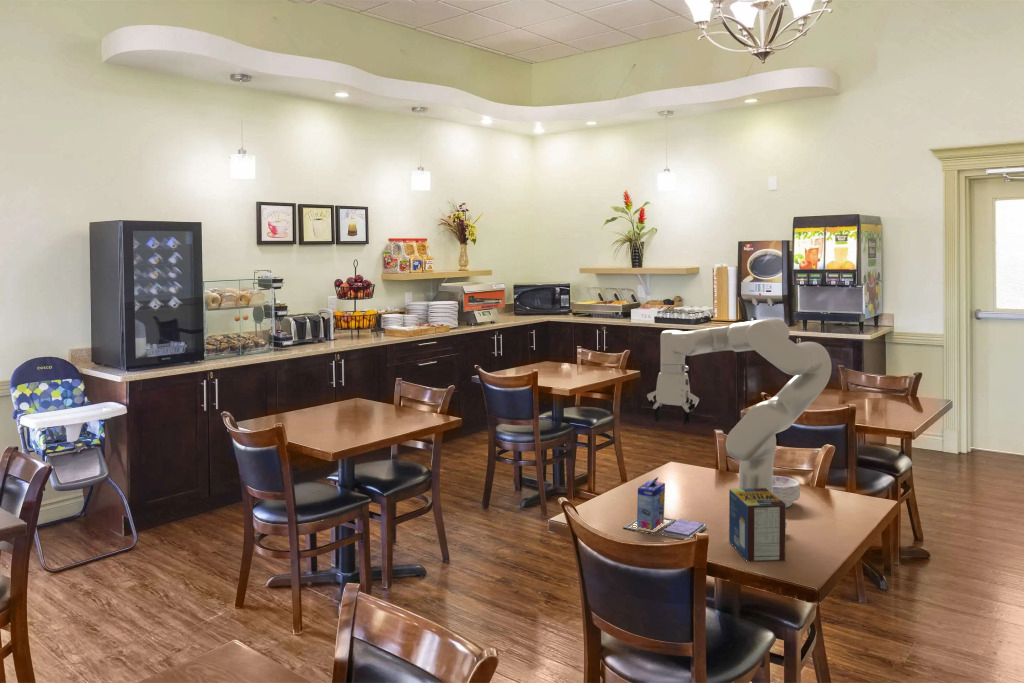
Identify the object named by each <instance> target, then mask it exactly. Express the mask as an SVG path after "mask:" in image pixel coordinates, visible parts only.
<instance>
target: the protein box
mask: <svg viewBox="0 0 1024 683" xmlns="http://www.w3.org/2000/svg"><path fill="white" fill-rule="evenodd" d="M728 493H729V494H728V495H729V497H728V498H729V509H728V510H729V511H728V512H729V514H728V515H729V516H728V520H729V522H728V523H729V524H728V526H729V527H728V528H729V529H728V531H729V532H728V534H729V535H728V542H729V541H730V542H731V543H732V544H733V545H732V544H731V543H730V542H729V543H730V544H731V545H732V546H733V547H734V546H735V547H736V549H737V550H738V551H739V552H740V553H741V554H742V555H741V554H740V553H739V552H738V551H737V550H736V549H735V550H736V551H737V552H738V553H739V554H740V555H741V557H742V556H743V557H744V558H745V559H746V560H747V561H757V562H776V561H777V562H778V561H779V562H780V561H781V562H782V561H783V562H784V561H786V529H787V527H786V522H787V521H786V518H787V516H786V515H787V514H786V512H787V511H786V510H787V509H786V508H787V507H786V504H785V503H784V502H783V501H781V500H780V499H779V498H777V497H776V496H775V495H774V494H772V493H771V492H770V491H768V490H767V489H766V488H741V489H739V488H729V492H728ZM735 547H734V548H735ZM743 557H742V558H743ZM744 558H743V559H744ZM745 559H744V560H745ZM746 560H745V561H746ZM747 561H746V562H747Z"/></svg>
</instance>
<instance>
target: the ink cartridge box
mask: <svg viewBox="0 0 1024 683" xmlns="http://www.w3.org/2000/svg"><path fill="white" fill-rule="evenodd" d="M658 479H659V476H657V477H655V478H654V479H653V480H648V481H647V482H645V483H644V484H642V485H640V486H639V487H638V488H637V503H636V504H637V505H636V506H637V508H636V509H637V510H636V511H637V512H636V513H637V514H636V519H637V527H641V528H646V529H650V530H653V529H654V528H656V527H657V526H658V525H660V524H661V523H662V522H664V517H665V498H666V496H665V495H666V494H665V493H666V492H665V491H666V483H665V482H661V481H658Z"/></svg>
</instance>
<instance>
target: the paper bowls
mask: <svg viewBox="0 0 1024 683" xmlns="http://www.w3.org/2000/svg"><path fill="white" fill-rule="evenodd" d="M800 493H801V483H800V481H799V480H796V479H794V478H792V477H787V476H783V475H782V476H780V475H773V494H774V495H775V496H776V497H777V498H779V499H780V500H781V501H783V502H784V503H785V504H786V508H789V507H791V505H792V504H793V503H794V502H795V501H798V500H799V499H800V495H801V494H800Z"/></svg>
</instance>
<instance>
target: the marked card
mask: <svg viewBox="0 0 1024 683" xmlns="http://www.w3.org/2000/svg"><path fill="white" fill-rule="evenodd" d="M670 520H671V521H670ZM664 521H665V522H662V524H666V525H664V526H663V527H661V528H660V529H658V530H657V531H655V532H651V531H646V530H641V529H636V528H637V527H636V526H637V524H635V523H637V518H635V519H634V520H632V521H630V522H628V523H627V524H625V525H623V527H622V529H623V528H628V529H632V530H637V531H644V532H648V533H653V534H657V533H658V532H660V531H661V530H662V531H663V529H664V528H665V529H666V527H667V526H668V527H669V525H670V524H671V525H672V523H673V522H674V521H675V522H676V521H677V520H676V519H675V518H670V517H665V516H664ZM666 521H667V522H669V523H667V522H666ZM675 522H674V523H675ZM633 523H634V524H633ZM632 524H633V525H636V526H633V527H636V528H631V527H632V526H631V527H628V526H630V525H632ZM660 526H661V525H660ZM638 528H639V527H638ZM632 530H631V531H632ZM637 531H636V532H637ZM662 531H661V532H662ZM661 532H660V533H661ZM658 534H659V533H658ZM658 534H657V535H658Z"/></svg>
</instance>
